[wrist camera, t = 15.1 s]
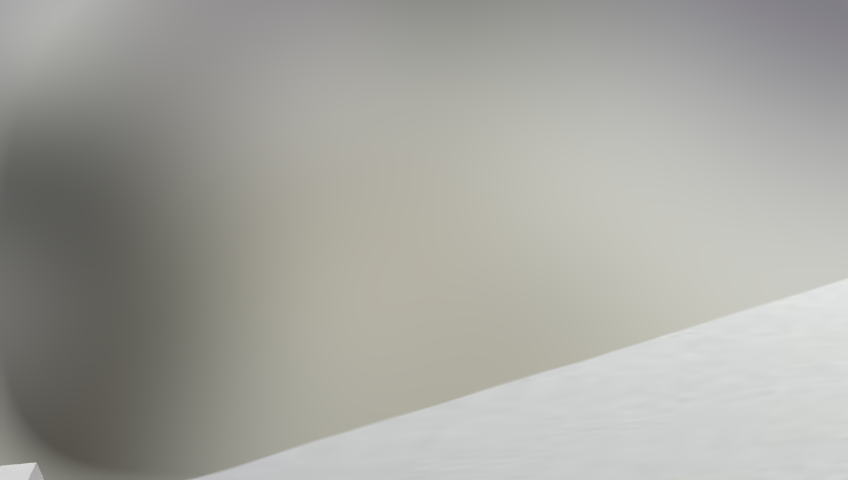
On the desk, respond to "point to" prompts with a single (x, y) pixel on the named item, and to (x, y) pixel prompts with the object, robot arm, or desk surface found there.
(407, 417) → the desk surface
